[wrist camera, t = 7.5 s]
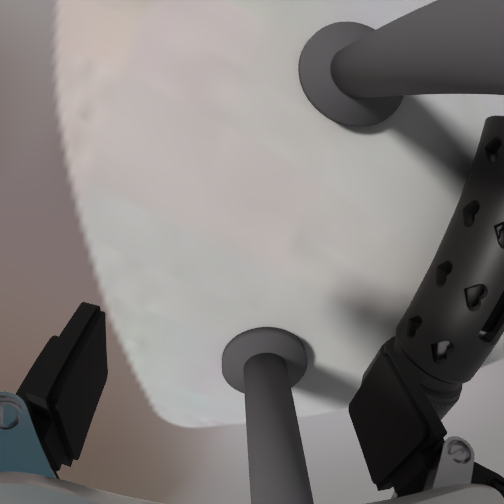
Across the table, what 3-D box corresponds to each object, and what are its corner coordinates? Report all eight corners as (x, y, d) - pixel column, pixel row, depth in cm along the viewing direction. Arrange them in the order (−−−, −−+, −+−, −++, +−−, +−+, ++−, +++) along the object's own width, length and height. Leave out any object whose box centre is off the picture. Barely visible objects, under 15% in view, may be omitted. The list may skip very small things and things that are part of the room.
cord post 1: (316, 333, 29) (398, 595, 7) (290, 390, 32) (331, 610, 10) (231, 320, 28) (240, 626, 6) (215, 381, 31) (213, 620, 9)
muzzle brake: (515, 155, 23) (590, 181, 13) (404, 377, 33) (439, 443, 24) (456, 108, 21) (545, 119, 12) (337, 371, 31) (366, 449, 22)
